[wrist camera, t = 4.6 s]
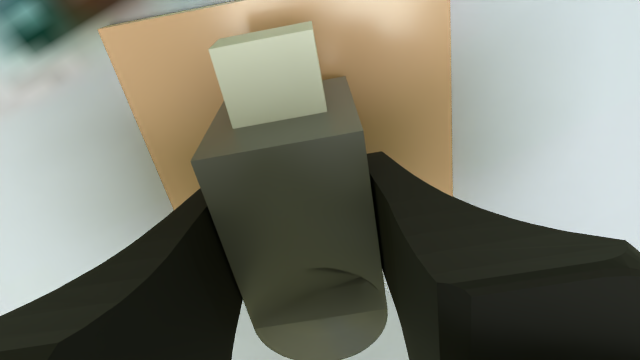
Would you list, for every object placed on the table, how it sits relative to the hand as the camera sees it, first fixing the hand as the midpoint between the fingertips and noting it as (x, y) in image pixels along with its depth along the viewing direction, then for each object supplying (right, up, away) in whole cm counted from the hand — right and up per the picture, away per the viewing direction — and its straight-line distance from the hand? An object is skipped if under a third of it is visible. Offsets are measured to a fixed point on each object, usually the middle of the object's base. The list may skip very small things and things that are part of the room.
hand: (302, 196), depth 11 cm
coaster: (0, +2, +3) cm, 3 cm away
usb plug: (0, +1, +1) cm, 2 cm away
